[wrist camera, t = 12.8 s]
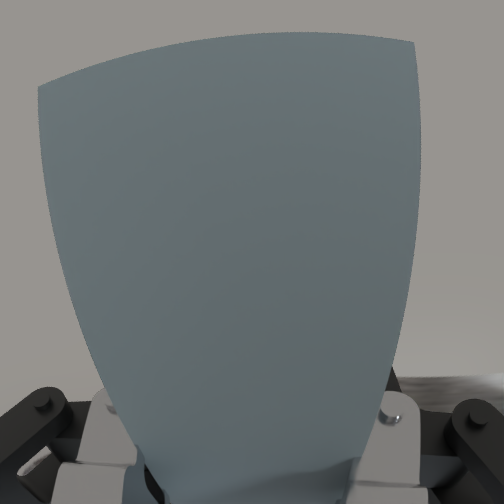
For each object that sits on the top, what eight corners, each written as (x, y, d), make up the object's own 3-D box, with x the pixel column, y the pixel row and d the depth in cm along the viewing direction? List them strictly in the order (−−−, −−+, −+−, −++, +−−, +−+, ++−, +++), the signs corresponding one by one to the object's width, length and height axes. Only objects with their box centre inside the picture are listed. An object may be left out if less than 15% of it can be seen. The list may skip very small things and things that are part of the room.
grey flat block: (306, 386, 19) (310, 115, 13) (309, 561, 8) (412, 41, 2) (227, 385, 19) (198, 121, 14) (188, 553, 8) (-17, 113, 3)
